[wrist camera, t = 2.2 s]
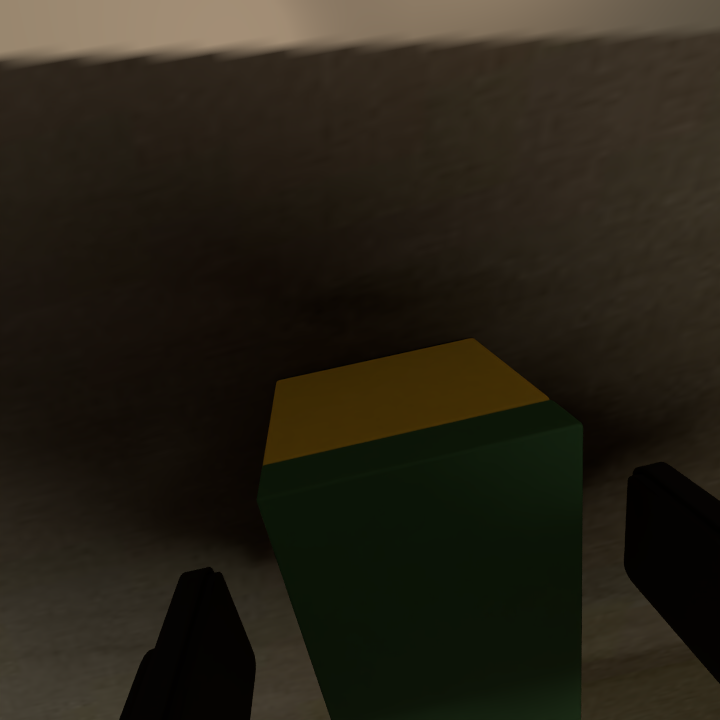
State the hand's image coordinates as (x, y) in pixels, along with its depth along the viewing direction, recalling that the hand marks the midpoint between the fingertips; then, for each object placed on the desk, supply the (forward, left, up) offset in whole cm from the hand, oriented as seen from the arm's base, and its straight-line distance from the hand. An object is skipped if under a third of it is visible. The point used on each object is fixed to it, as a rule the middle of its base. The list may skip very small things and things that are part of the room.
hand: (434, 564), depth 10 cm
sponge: (0, 0, -3) cm, 3 cm away
